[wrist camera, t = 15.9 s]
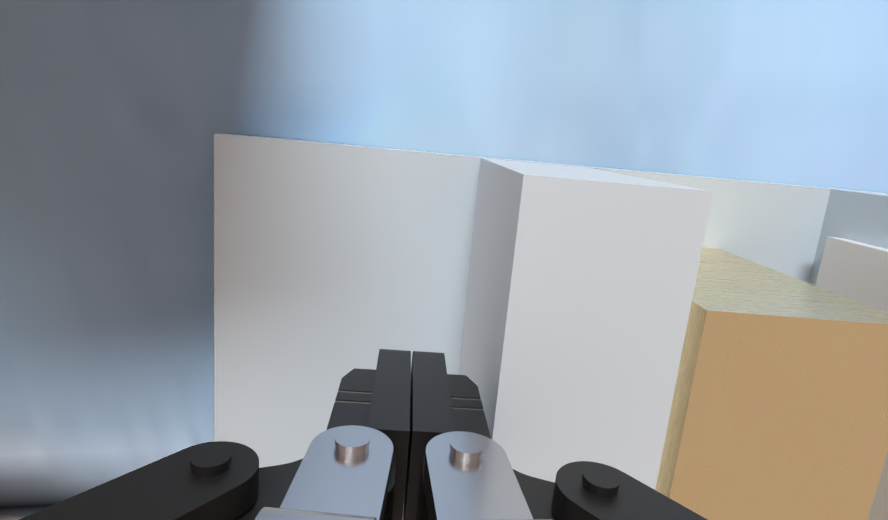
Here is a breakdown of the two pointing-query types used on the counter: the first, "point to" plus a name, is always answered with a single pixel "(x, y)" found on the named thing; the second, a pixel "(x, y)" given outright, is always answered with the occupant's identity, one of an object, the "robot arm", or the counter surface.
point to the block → (776, 399)
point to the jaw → (579, 312)
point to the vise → (432, 268)
